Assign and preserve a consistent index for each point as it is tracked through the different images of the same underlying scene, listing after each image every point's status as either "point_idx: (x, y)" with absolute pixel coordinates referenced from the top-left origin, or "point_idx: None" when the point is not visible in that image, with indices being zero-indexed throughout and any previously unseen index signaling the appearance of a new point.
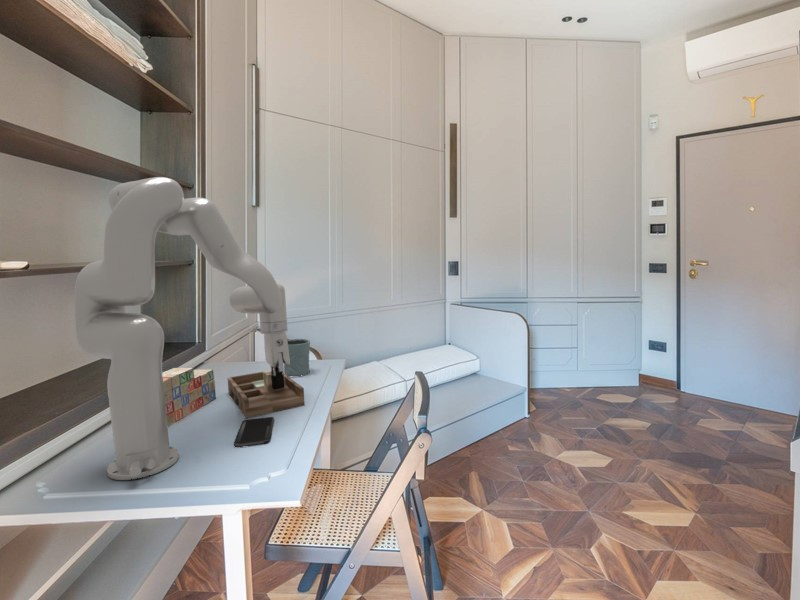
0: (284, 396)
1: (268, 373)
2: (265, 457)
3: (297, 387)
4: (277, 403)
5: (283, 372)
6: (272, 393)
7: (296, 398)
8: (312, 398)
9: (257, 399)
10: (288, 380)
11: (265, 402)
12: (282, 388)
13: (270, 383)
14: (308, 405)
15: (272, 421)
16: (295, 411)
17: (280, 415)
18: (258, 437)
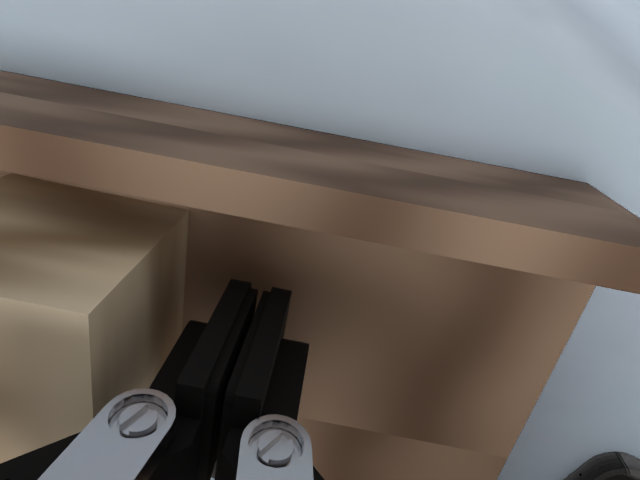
0: (434, 329)
1: (15, 456)
2: None
3: (555, 273)
4: (521, 421)
5: (88, 317)
6: None
7: (593, 287)
8: (488, 14)
9: (321, 473)
10: (162, 197)
11: (438, 471)
12: (185, 234)
13: (149, 383)
14: (624, 160)
15: None
16: (631, 302)
17: (589, 397)
18: None
